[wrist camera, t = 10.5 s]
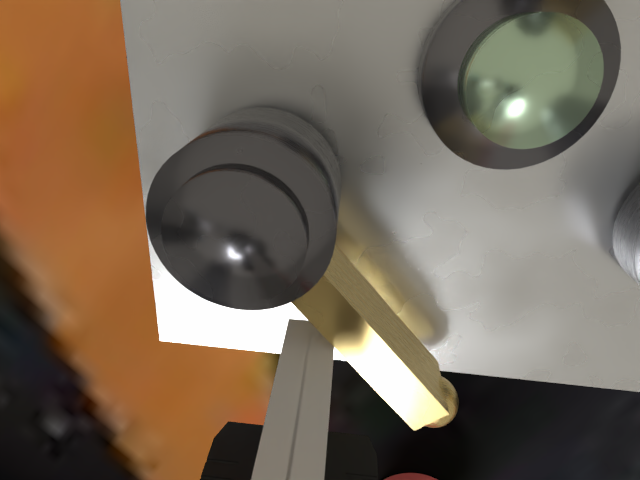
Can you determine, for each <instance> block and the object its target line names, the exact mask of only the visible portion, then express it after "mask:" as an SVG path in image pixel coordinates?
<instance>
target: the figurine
mask: <svg viewBox="0 0 640 480" xmlns="http://www.w3.org/2000/svg"><path fill="white" fill-rule="evenodd" d="M384 480H437V479H436V478H433V477H431V476H428V475H425V474H419V473H401V474H396V475H393V476H390V477H388V478H385V479H384Z"/></svg>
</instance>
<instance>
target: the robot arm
mask: <svg viewBox="0 0 640 480" xmlns="http://www.w3.org/2000/svg"><path fill="white" fill-rule="evenodd" d="M333 358H334V347H333V346H332V345H331V343H330V342H329V341H328V340H327V339H326V338H325V337H324V336H323V335H322V334H321V333H320V332H319V331H318V330H317V329H316V328H315V327H314V326H313V325H312V324H311V323H310V322H309V321H308V320H299V319H289V320H288V324H287V328H286V332H285V337H284V341H283V345H282V349H281V354H280V358H279V362H278V366H277V371H276V375H275V379H274V384H273V388H272V392H271V396H270V401H269V405H268V409H267V413H266V418H265V422H264V425H255V424H246V423H237V422H228V423H227V424H226V425H225V426H224V427H223V428H222V429H221V431H220V432H219V433H218V434H217V435H216V436H215V438H214V440H213V443H212V446H211V449H210V451H209V454H208V457H207V462H206V463H205V466H204V469H203V472H202V475H201V479H200V480H378V466H377V454H376V452H375V450H374V448H373V446H372V443H371V441H370V439H369V437H368V436H365V435H355V434H346V433H337V432H328V424H329V411H330V397H331V384H332V371H333Z"/></svg>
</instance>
